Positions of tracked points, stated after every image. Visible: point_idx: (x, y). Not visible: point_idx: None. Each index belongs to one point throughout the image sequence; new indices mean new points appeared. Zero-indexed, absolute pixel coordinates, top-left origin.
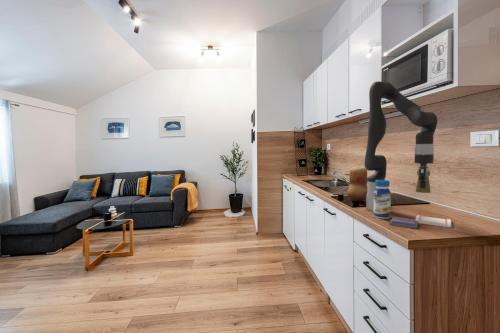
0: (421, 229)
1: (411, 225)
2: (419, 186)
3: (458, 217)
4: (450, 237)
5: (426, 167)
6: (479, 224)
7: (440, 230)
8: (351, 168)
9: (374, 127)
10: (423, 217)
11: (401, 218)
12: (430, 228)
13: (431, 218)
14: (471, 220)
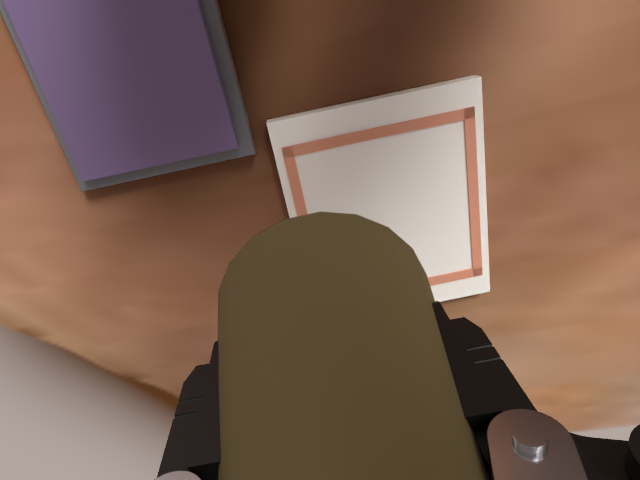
0: (110, 212)
1: (68, 158)
2: (223, 354)
3: (636, 292)
4: (93, 358)
5: None
6: None
7: (194, 294)
8: None
9: None
10: (428, 145)
11: (167, 33)
12: (190, 244)
13: (434, 197)
14: (587, 353)
